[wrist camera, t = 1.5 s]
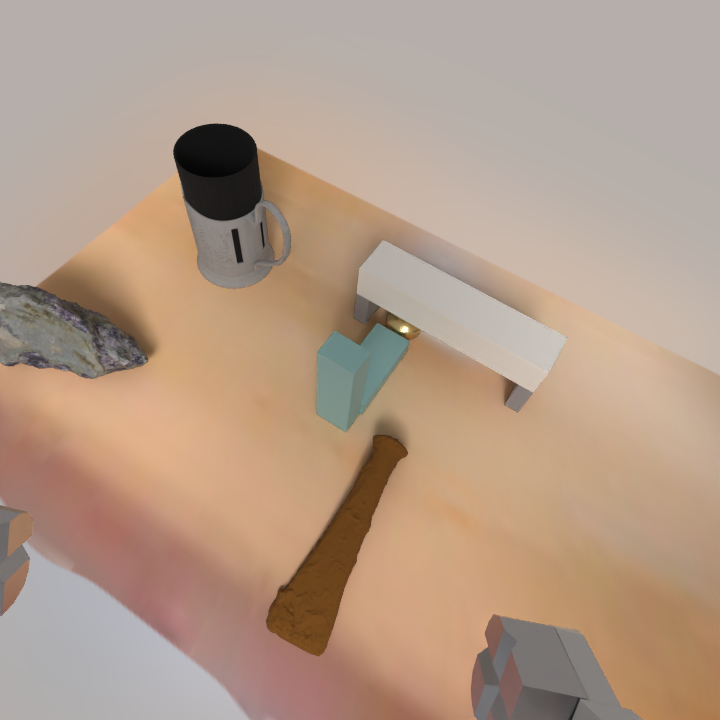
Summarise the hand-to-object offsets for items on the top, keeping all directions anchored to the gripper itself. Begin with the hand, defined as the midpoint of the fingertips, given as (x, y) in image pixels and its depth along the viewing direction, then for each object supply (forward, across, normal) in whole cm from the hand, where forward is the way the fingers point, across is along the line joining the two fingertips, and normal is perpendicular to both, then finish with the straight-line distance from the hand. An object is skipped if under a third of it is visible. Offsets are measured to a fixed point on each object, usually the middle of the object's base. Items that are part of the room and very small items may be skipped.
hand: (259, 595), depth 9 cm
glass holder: (+54, -12, -1) cm, 55 cm away
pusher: (+45, +3, -8) cm, 46 cm away
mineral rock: (+44, -26, -13) cm, 53 cm away
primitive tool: (+35, +4, -20) cm, 40 cm away
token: (+51, +6, -3) cm, 51 cm away
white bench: (+49, +11, -4) cm, 50 cm away
